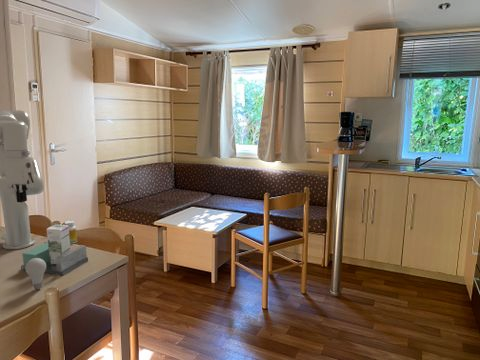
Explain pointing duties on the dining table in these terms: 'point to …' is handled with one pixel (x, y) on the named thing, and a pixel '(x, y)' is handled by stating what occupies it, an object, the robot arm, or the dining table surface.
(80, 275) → the dining table surface
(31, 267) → the lightbulb
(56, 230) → the syrup box
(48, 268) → the base
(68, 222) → the supplement bottle
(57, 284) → the dining table surface
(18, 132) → the robot arm
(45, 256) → the teal green rectangular block
